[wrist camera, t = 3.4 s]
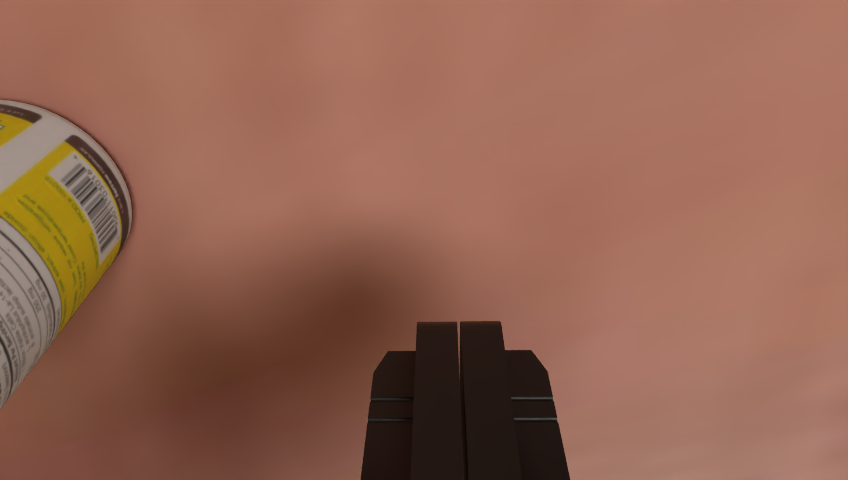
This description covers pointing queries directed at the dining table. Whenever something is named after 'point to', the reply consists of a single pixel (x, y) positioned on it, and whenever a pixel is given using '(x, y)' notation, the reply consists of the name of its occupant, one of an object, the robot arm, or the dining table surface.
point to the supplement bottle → (51, 230)
